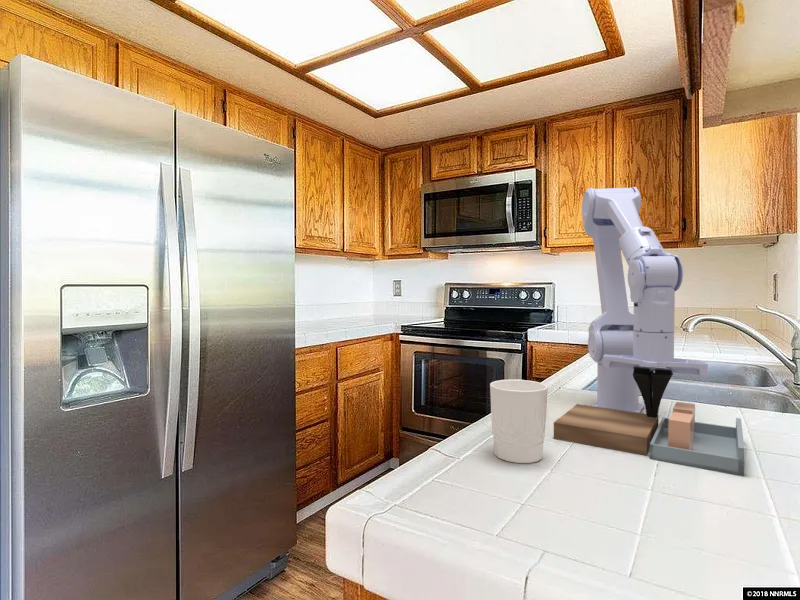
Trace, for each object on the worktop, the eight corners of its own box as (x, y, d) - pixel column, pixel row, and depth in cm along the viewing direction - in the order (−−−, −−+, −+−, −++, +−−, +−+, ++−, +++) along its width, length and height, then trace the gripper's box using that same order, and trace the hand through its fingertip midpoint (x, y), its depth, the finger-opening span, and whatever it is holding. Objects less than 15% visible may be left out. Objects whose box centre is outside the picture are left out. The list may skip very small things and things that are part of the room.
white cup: (482, 459, 64) (482, 387, 64) (498, 442, 71) (498, 377, 71) (541, 469, 60) (541, 393, 60) (551, 450, 67) (552, 382, 67)
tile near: (673, 411, 68) (693, 414, 66) (673, 445, 68) (693, 449, 67) (668, 419, 64) (689, 422, 62) (668, 455, 64) (689, 459, 63)
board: (576, 417, 84) (577, 404, 84) (658, 430, 77) (658, 415, 77) (553, 438, 73) (553, 422, 73) (646, 455, 65) (646, 437, 65)
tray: (662, 429, 77) (662, 408, 77) (740, 441, 71) (740, 418, 71) (649, 458, 64) (649, 433, 64) (743, 476, 58) (744, 448, 58)
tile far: (676, 401, 74) (695, 403, 72) (676, 432, 74) (694, 435, 73) (673, 408, 70) (692, 410, 68) (672, 441, 70) (691, 444, 69)
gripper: (599, 330, 75) (598, 414, 75) (707, 336, 66) (705, 430, 67) (608, 327, 80) (607, 405, 81) (708, 332, 72) (707, 418, 72)
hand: (652, 416), depth 74 cm, fingers closed
